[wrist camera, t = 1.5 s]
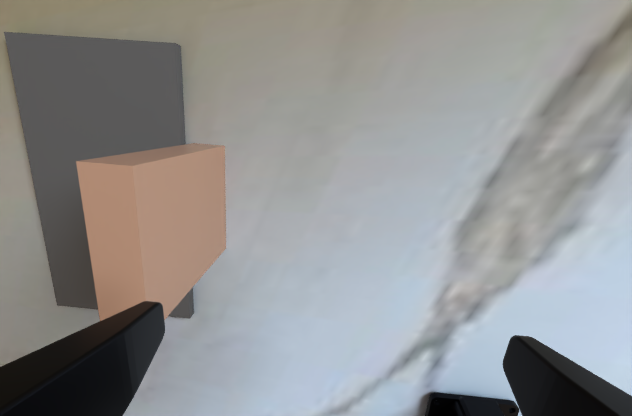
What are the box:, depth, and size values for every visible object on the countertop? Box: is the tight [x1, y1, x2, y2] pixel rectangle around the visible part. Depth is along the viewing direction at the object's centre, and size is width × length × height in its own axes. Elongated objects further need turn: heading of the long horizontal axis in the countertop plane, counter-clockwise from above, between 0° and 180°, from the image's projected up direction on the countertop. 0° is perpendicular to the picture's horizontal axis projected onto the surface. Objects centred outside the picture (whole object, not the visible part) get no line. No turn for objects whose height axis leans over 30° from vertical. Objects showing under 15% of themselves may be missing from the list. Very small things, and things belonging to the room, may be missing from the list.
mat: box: [4, 32, 194, 318], centre depth 20 cm, size 18×10×1 cm, turn 176°
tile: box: [76, 143, 226, 321], centre depth 16 cm, size 7×2×9 cm, turn 176°
